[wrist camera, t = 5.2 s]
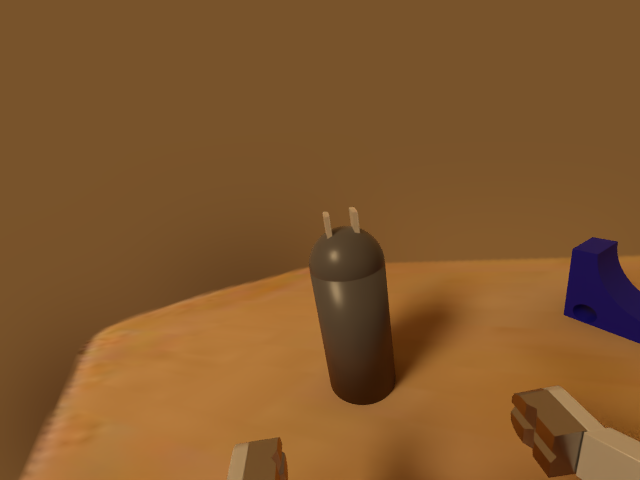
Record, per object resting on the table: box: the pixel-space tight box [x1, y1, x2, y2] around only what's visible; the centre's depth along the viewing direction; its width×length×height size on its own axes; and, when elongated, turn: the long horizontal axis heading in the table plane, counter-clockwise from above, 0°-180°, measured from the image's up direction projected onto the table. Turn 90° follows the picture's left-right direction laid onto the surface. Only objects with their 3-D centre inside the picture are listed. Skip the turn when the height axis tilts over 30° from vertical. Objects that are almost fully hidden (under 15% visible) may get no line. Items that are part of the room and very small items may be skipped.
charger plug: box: [309, 207, 395, 405], centre depth 20 cm, size 5×5×12 cm
